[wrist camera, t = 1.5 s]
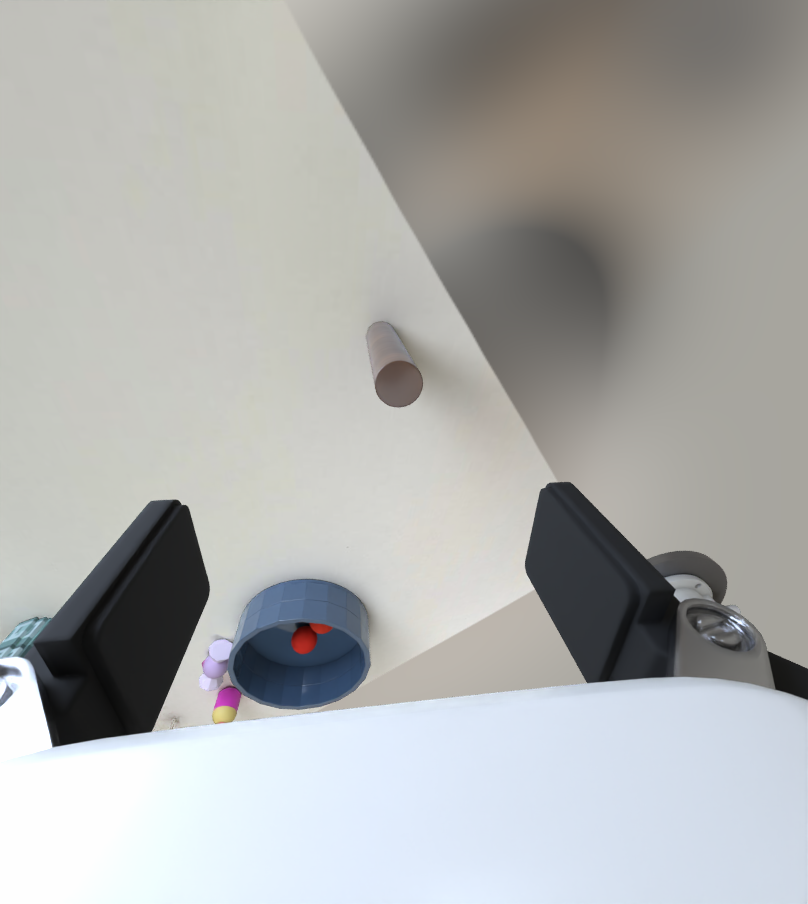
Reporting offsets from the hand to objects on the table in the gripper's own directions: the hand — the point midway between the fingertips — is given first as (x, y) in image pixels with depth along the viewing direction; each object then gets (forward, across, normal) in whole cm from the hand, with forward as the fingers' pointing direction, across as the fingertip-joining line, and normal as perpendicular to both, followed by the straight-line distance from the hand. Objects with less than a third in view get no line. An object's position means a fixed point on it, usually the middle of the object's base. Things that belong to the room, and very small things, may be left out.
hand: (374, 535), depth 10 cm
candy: (+26, +20, +43) cm, 54 cm away
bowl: (+26, +8, +34) cm, 43 cm away
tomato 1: (+24, +7, +34) cm, 42 cm away
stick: (+26, -2, -1) cm, 26 cm away
